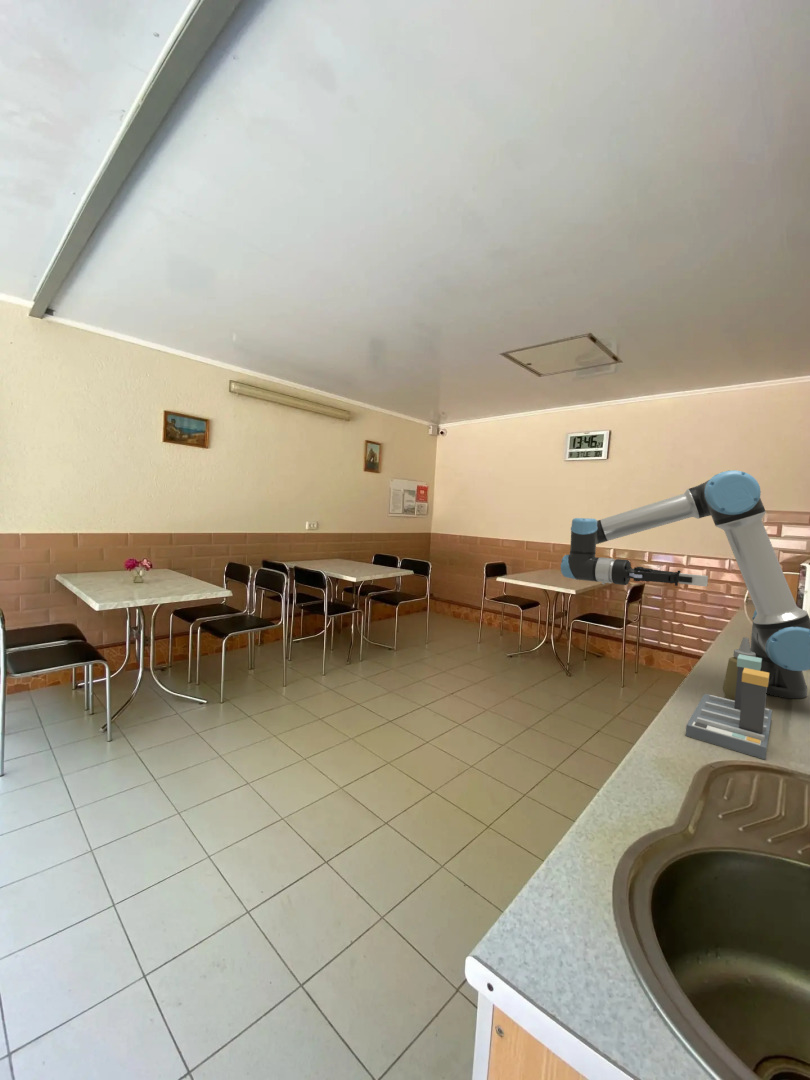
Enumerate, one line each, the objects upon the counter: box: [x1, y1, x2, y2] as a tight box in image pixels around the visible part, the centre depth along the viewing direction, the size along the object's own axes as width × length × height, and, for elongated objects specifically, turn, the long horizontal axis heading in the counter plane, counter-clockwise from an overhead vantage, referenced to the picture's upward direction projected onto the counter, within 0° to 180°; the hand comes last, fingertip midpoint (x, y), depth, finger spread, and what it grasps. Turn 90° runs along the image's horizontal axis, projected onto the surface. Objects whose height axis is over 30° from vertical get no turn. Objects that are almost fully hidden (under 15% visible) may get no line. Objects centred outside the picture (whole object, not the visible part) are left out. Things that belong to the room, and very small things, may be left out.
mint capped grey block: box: [734, 654, 762, 710], centre depth 109 cm, size 4×4×13 cm
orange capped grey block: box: [739, 668, 769, 735], centre depth 99 cm, size 4×4×13 cm
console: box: [685, 693, 773, 761], centre depth 107 cm, size 25×14×4 cm, turn 139°
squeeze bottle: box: [722, 637, 756, 701], centre depth 119 cm, size 8×8×18 cm
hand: (707, 581), depth 122 cm, fingers closed
